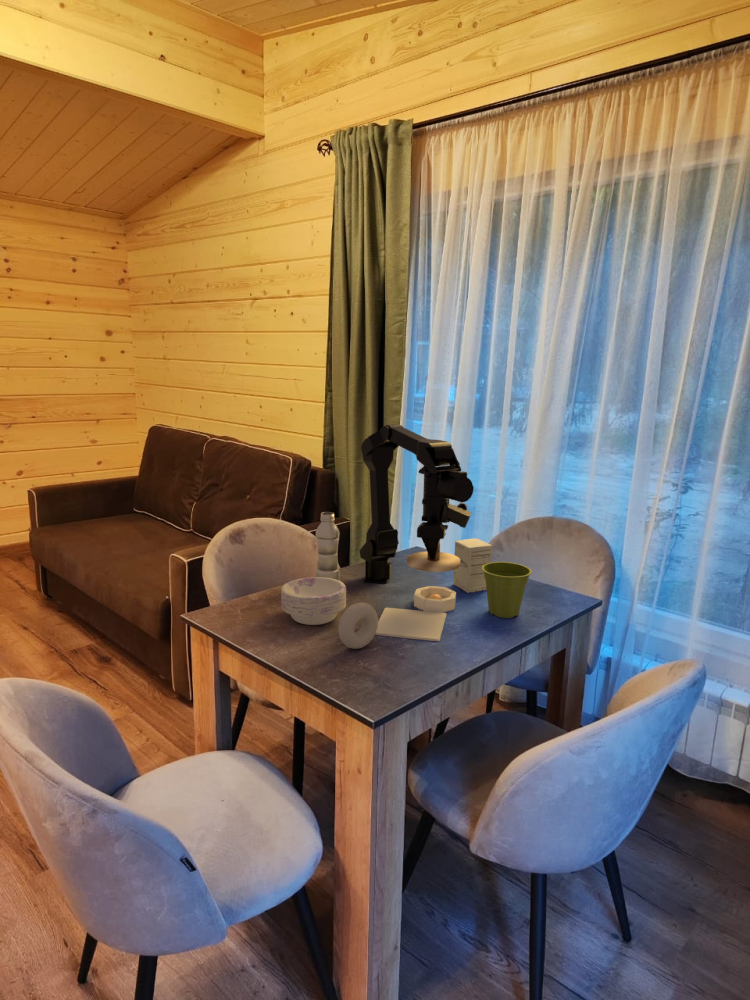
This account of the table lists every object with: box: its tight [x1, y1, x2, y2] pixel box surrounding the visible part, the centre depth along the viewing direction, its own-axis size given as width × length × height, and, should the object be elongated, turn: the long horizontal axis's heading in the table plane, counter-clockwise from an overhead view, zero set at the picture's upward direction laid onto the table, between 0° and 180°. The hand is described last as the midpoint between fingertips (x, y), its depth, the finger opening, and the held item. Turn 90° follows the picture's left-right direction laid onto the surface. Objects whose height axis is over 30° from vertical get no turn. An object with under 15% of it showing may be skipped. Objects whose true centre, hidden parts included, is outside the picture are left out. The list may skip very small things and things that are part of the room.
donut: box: [337, 602, 379, 650], centre depth 134 cm, size 10×4×10 cm, turn 131°
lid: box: [406, 542, 460, 573], centre depth 154 cm, size 13×13×5 cm
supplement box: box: [452, 537, 493, 594], centre depth 171 cm, size 7×7×13 cm
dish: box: [413, 585, 457, 613], centre depth 159 cm, size 10×10×4 cm
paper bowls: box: [280, 576, 347, 626], centre depth 150 cm, size 15×15×8 cm
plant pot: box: [482, 561, 533, 619], centre depth 154 cm, size 12×12×11 cm
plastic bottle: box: [315, 511, 341, 581], centre depth 170 cm, size 6×7×20 cm
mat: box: [374, 607, 447, 642], centre depth 147 cm, size 15×15×1 cm
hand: (433, 557), depth 155 cm, fingers closed on lid, 3 cm apart
